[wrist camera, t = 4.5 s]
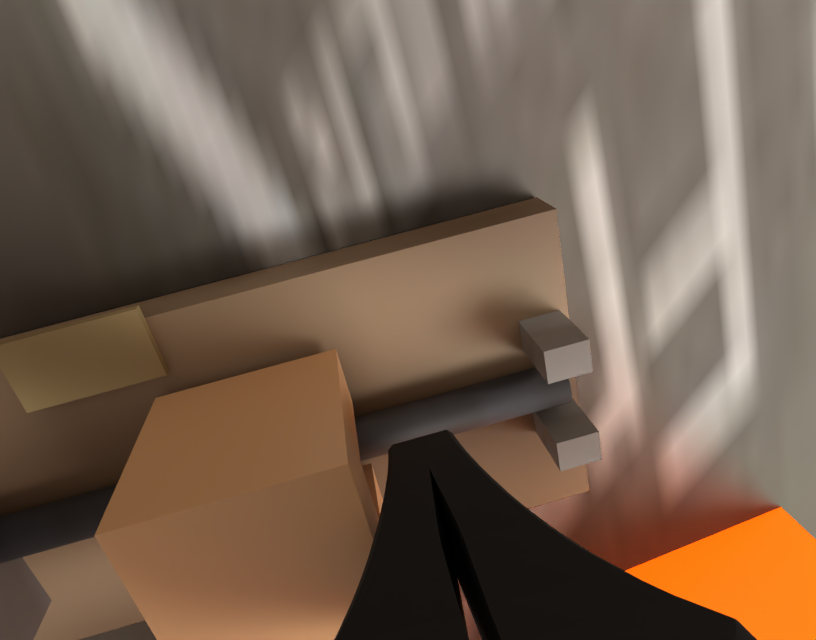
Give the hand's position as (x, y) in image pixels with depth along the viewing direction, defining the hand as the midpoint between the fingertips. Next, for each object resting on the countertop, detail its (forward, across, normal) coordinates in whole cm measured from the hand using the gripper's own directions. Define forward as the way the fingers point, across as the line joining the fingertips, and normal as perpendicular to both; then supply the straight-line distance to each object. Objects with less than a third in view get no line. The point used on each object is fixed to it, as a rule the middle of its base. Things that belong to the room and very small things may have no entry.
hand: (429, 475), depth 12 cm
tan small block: (+2, +3, 0) cm, 4 cm away
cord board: (+4, +4, 0) cm, 6 cm away
